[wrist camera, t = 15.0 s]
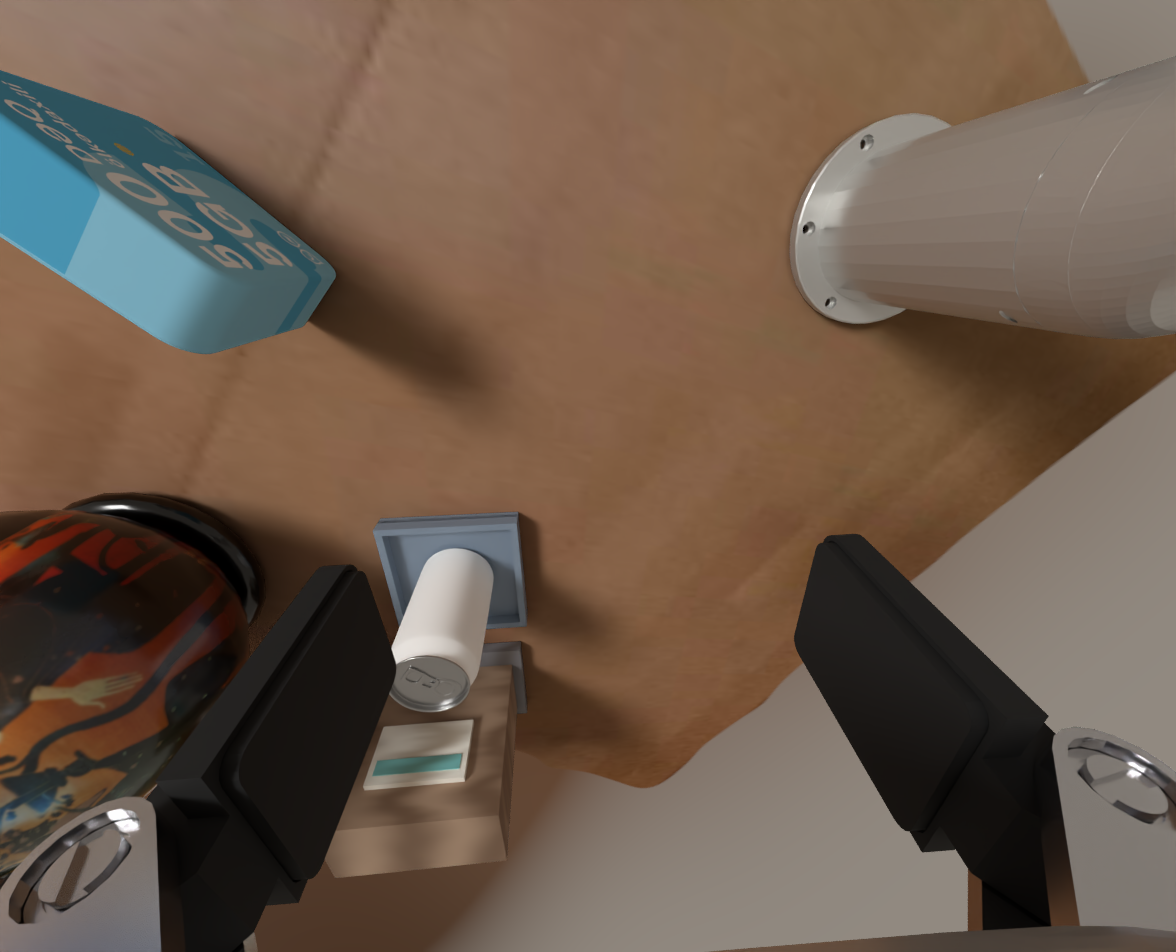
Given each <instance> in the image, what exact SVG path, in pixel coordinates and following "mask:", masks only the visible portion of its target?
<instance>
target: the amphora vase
mask: <svg viewBox="0 0 1176 952" xmlns="http://www.w3.org/2000/svg"><path fill="white" fill-rule="evenodd" d="M265 598H266V596H265V579H264V577H263V574H262V572H261V569H260V567H259V564H258V562H257V560H256V557H255V556H254V555H253V554H252V552H251V551H250V550H249V548H248V547H247V546H246V545H245V543H244V542H243V541H242V539H240V538H239V537H238V536H237V535H236V534H234V533H233V532H232V531H231V530H230V529H228V528H227V527H226V526H225V525H224V524H223V523H221V522H219V521H218V520H216V519H214V518H212V517H211V516H209V515H207V514H205V513H204V512H202V511H200V510H198V509H196V508H194V507H191V506H188V505H185V504H182V503H180V502H177V501H174V500H171V499H168V498H163V497H157V496H151V495H145V494H139V493H104V494H100V495H97V496H93V497H90V498H86V499H83V500H79V501H77V502H74V503H71V504H70V505H68V506H67V507H66V508H64V509H63V510H38V511H6V512H0V889H1V888H2V886H3V885H4V884H5V882H6V881H7V879H8V878H9V876H10V875H11V874H12V872H13V871H14V870H15V869H16V868H17V867H18V866H19V865H20V864H21V862H22V861H23V860H24V859H25V858H26V857H27V856H28V855H29V854H30V853H31V852H32V851H33V850H34V849H35V848H36V847H37V846H38V845H40V844H41V843H42V842H43V841H44V840H46V839H47V838H48V837H49V836H50V835H52V834H53V833H54V832H55V831H57V830H58V829H59V828H61V827H62V826H64V825H65V824H67V823H68V822H70V821H71V820H73V819H74V818H76V817H78V816H79V815H81V814H82V813H84V812H86V811H88V810H90V809H92V808H95V807H97V806H99V805H101V804H103V803H105V802H108V801H112V800H116V799H119V798H123V797H142V798H143V797H144V796H146V795H147V794H148V793H149V792H150V791H152V790H153V789H154V788H155V787H156V786H157V783H156V782H155V781H156V779H157V778H158V777H159V775H160V774H161V773H162V771H163V770H164V769H165V768H166V766H167V765H168V764H169V762H170V761H171V760H172V758H173V757H174V756H175V754H176V753H177V752H178V751H179V749H180V748H181V747H182V745H183V744H184V743H185V741H186V740H187V739H188V737H189V736H190V735H191V734H192V732H193V731H194V730H195V728H196V727H197V726H198V724H199V723H200V722H201V721H202V719H203V718H204V717H205V715H206V714H207V713H208V711H209V710H210V709H211V707H212V706H213V705H214V704H215V702H216V701H217V700H218V698H219V697H220V696H221V694H222V693H223V692H224V690H225V689H226V688H227V687H228V685H229V684H230V683H231V681H232V680H233V679H234V677H235V676H236V675H237V673H238V672H239V671H240V670H241V668H242V667H243V666H244V664H245V663H246V662H247V660H248V659H249V656H250V644H249V631H248V628H249V627H250V626H251V625H252V623H253V622H254V621H255V620H256V619H257V618H258V616H259V614H260V612H261V609H262V606H263V604H264V601H265Z"/></svg>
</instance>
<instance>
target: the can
mask: <svg viewBox="0 0 1176 952" xmlns="http://www.w3.org/2000/svg"><path fill="white" fill-rule="evenodd" d="M493 579H494V576H493V571H492V568H491V566H490V565H489V563H488V562H487V561H486V560H485V559H484V558H483V557H482V556H480V555H479V554H477V553H475V552H473V551H470V550H466V549H460V548H453V549H446V550H443V551H440V552H438V553H436V554H434V555H433V556H431V557H430V558H429V559H428V560H427V562H426V563H425V565H424V567H423V570H422V572H421V574H420V577H419V579H418V582H417V584H416V587H415V589H414V592H413V594H412V597H411V599H410V602H409V604H408V607H407V609H406V612H405V614H404V617H403V620H402V622H401V625H400V627H399V630H398V632H397V635H396V637H395V640H394V643H393V645H392V648H391V649H392V652H393V655H394V658H395V661H396V676H395V680H394V683H393V685H392V688H391V690H390V693H389V694H390V696H391V697H392V698H393V699H394V700H395V701H396V702H397V703H399V704H400V705H402V706H404V707H406V708H409V709H411V710H415V711H420V712H440V711H445V710H448V709H451V708H453V707H455V706H457V705H459V704H460V703H461V702H462V701H463V700H464V699H465V698H466V697H467V695H468V693H469V690H470V686H471V685H472V683H473V682H474V680H475V679H476V677H477V674H478V671H479V666H480V661H481V655H482V649H483V643H484V637H485V631H486V625H487V619H488V613H489V607H490V600H491V594H492V587H493Z"/></svg>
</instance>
